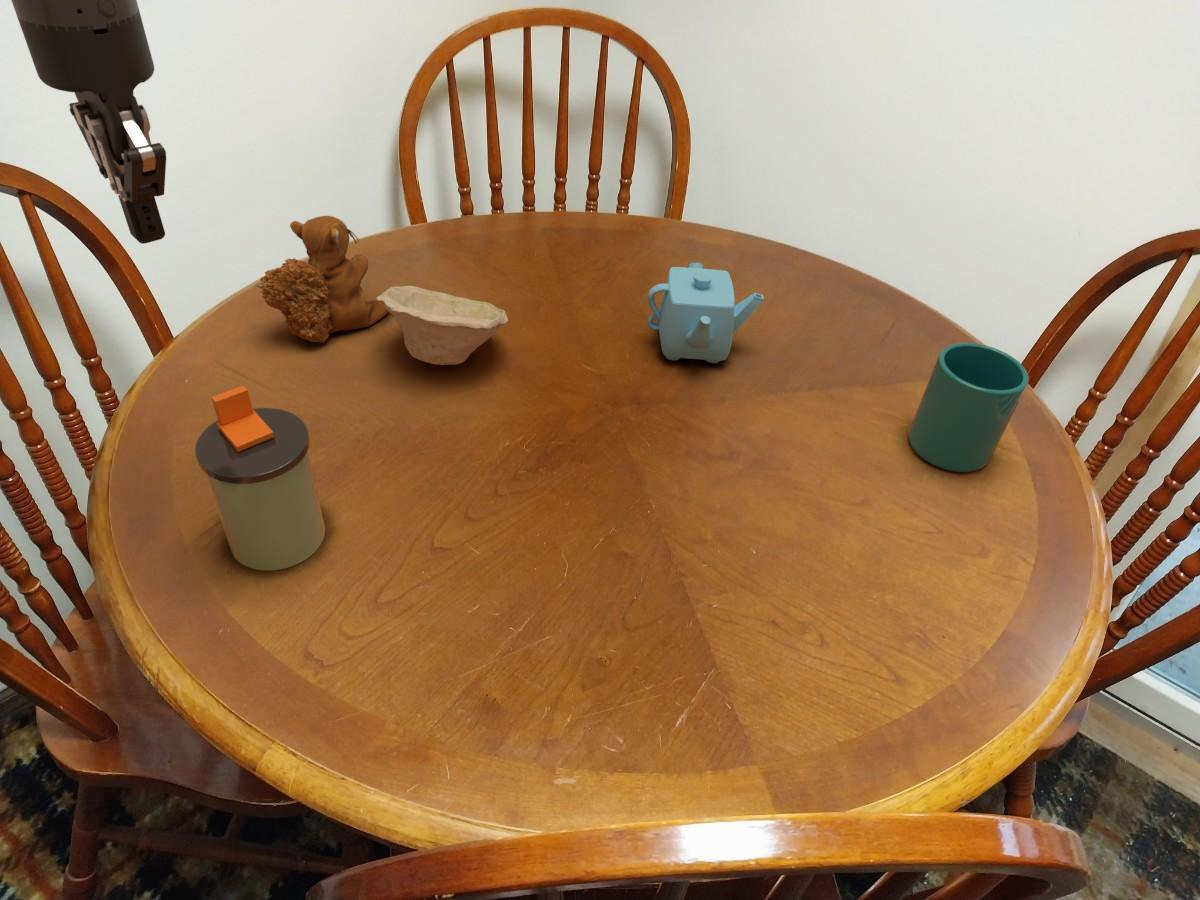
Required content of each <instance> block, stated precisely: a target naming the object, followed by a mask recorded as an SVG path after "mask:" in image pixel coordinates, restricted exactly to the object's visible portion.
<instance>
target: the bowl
mask: <svg viewBox="0 0 1200 900" xmlns="http://www.w3.org/2000/svg"><path fill="white" fill-rule="evenodd" d="M376 300H377V301H378V302H380V303H382V304H383V305H384V306H385V307H386V309H387V310H388V311H389V313H390V315H392V316H393V317H394V319H395V320H396V322H397V323H398V325H399V327H400V329H401V331H402V333H403V339H404V341H403V344H404V345H405V348H406V350H407V351H408V353H409V354H410V355H411V356H412V358H414V359H416V360H418V361H421V362H424V363H428V364H432V365H440V366H444V365H446V366H447V365H448V366H449V365H450V366H451V365H452V366H455V365H460V364H462V363H464V362H466V360H467V359H468V358H469V356H470V355H471V354H472V353H474V352H475V351H476V349H478V348H479V347H480V346H481V345H483V344H484V343H485V342H486V341H488V340H489V339H491V337H493V335H495V334H496V333H497V332H499V330H500V329H501V328H502V326H504V325H506V324H508V322H509V318H508V315H507V314H506V311H505V310H503V308H502V309H501V308H499V307H497V306H495V305H493V304H492V303H490V302H486V301H479V300H474V299H470V298H467V297H462V296H461V297H460V296H455V295H452V294H448V293H445V292H441V291H437V290H436V291H435V290H429V289H426V288H423V287H419V286H415V285H405V286H404V285H403V286H397V285H395V286H391V287H389V288H388V289H387V290H385V291H384V292H382V293H381V294H380V295H378V296H377V297H376Z"/></svg>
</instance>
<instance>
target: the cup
mask: <svg viewBox="0 0 1200 900" xmlns="http://www.w3.org/2000/svg"><path fill="white" fill-rule="evenodd" d="M1028 384H1029V373H1028V372H1027V370H1026V368H1025V367H1024V366H1023V364H1022V363H1021V362H1020V361H1019V360H1017V359H1016V358H1015V357H1013V356H1012V355H1010V354H1008V353H1006V352H1004V351H1002V350H1000V349H998V348H995V347H992V346H989V345H986V344H981V343H976V342H958V343H957V342H956V343H953V344H950V345H947V346H946V347H944V348H943V349H941V351H940V352H939V355H938V357H937V359H936V362H935V364H934V367H933V369H932V371H931V375H930V377H929V380H928V382H927V384H926V387H925V389H924V392H923V395H922V397H921V400H920V402H919V404H918V407H917V410H916V412H915V415H914V417H913V420H912V422H911V425H910V427H909V430H908V439H909V444H910V445H911V447H912V449H913V450H914V452H915V453H916V454H917V455H918V456H919V457H920V458H921V459H923V460H924V461H926V462H927V463H929V464H931V465H933V466H935V467H936V468H939V469H942V470H946V471H949V472H954V473H955V472H957V473H970V472H974V471H975V472H976V471H979V470H981V469H983V468H984V467H985V466H987V465H988V464H989V462H991V459H992V457H993V455H994V453H995V451H996V449H997V447H998V445H999V443H1000V441H1001V439H1002V437H1003V435H1004V433H1005V431H1006V429H1007V427H1008V425H1009V423H1010V420H1011V419H1012V417H1013V414H1014V413H1015V410H1016V409H1017V407H1018V405H1019V402H1020V401H1021V398H1022V396H1023V395H1024V393H1025V390H1026V389H1027V386H1028Z"/></svg>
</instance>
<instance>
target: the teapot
mask: <svg viewBox="0 0 1200 900" xmlns="http://www.w3.org/2000/svg"><path fill="white" fill-rule="evenodd" d="M734 290H735V289H734V286H733V281H732V278H731V275H730V273H729V272H728V271H727V270H723V269H714V268H713V269H712V268H704V264H703V263H702V262H696V261H695V262H690V263H688V266H687V267H683V266H671V267H670V269H669V272H668V275H667V278H666V281H665V282H664V283H658V284H656V285H654V286H653V287H651V288H650V290H649V291H648V294H647V302H648V305H649V308H650V310H651V311H652V313H653V314H651V315H649V316H648V318H647V326H648V327H649V328H650V329H651V330H654V331H655V330H657V331H658V333H659V341H660V346H661V351H662V354H663V356H665V358H666V359H668V360H671V361H678V360H680V359H688V360H689V359H691V360H702V361H703V360H705V362H707V363H710V364H718V363H720V362H721V361H726V360H727V359H728V356H729V354H730V352H731V348H732V343H733V337H734V334H735V333H736V332H737V331H738V329H740V327H741V326H742V325H743V324H744V323H745V322H746V320H748V318H749V317H750V316H751V315H752V314H753V313H754V312H755V311H756V310H757V308H759V306H760V305H761V304H762V303H763V302H765V301H764V300H765V298H764V294H761V293H757V292H753V293H752V294H751V295H749V296H748V297H746V298H744V299H742V300H741V301H740V302H738V303H737V304H736V303H735V302H736V301H735V291H734ZM662 292H663V293H662ZM659 293H662V297H661V302H660V308H659V307H658V306H657V303H656V302H655V298H654V297H655V295H656V294H659ZM654 320H656V322H654Z"/></svg>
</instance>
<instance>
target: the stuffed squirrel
mask: <svg viewBox="0 0 1200 900" xmlns="http://www.w3.org/2000/svg"><path fill="white" fill-rule="evenodd" d="M289 227H290V230H291V231H292V232H293V233H294V234H295V235H296V236H297V237H298V238H299V239H300V240H301V241H302V244H303V246H304V247H305V249H306V254H307V256H308V257H309V258H308V261H307V262H306V261H304V260H301V259H296V258H287V259H285V260H284V262H283V263H282V264H281V266H280V267H276V268H274V269H273V268H272V269H268V270H266V271H264V274H265V275H264V276H262V277H260V279H259V284H255V286H256V287H257V288H258V289H261V290H260V292H259V293H260V294H261V295H262V296H261V298H263V300H264V303H265V304H266V305H268V306H269V307H271V308H273V309H276V310H279V311H280V313H281V314H282V315H283V317H284V318H285V321H284V323H285V325H286V327H287V330H288V331H289V332H290V333H291V334H292V335H294V336H297V337H299V338H301V339H302V340H305V341H308V342H310V343H311V342H312V343H319V344H322V343H325V342H326V341H327V340H328V338H329V336H330V334H333V333H336V332H338V331H339V332H344V331H353V330H357V329H358V330H359V329H363V328H368V327H370V326H372V325H373V324H375V323H377V322H379V321H380V320H381V319H383V318H384V317H385V316H387V315H388V314H389V313H390V312H389V311H388V310H387V309H386V307H385V306H384V305H383V304H382V303H380V302H378V301H377V299H372V300H369V301H366V299H365V298H366V297H365V293H364V290H363V287H361V283H362V280H364V279H363V278H364V277H365V275H366V274H367V272H368V269H369V259H368V257H367V256H366V255H364V254H362V253H356V254H354V256H353V257H352V258H351V259H349V258H348V257H346V256H347V252H348V247H349V244H350V239H351V238H352V240H353V241H354V244H356V245H357V244H358V242H359V243H361V239H360V238H359V237H358V236H357V235H356V234H355V233H354V232H353V231H352V230H350V229H349V228H348V226H347V224H346V223H344V220H342V219H339V218H337V217H335V216H332V215H320V216H316V217H314V218H311V219H307V220H306V221H305V223H302V222H300V221H297V220H293V221H292V222H290V224H289Z"/></svg>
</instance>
